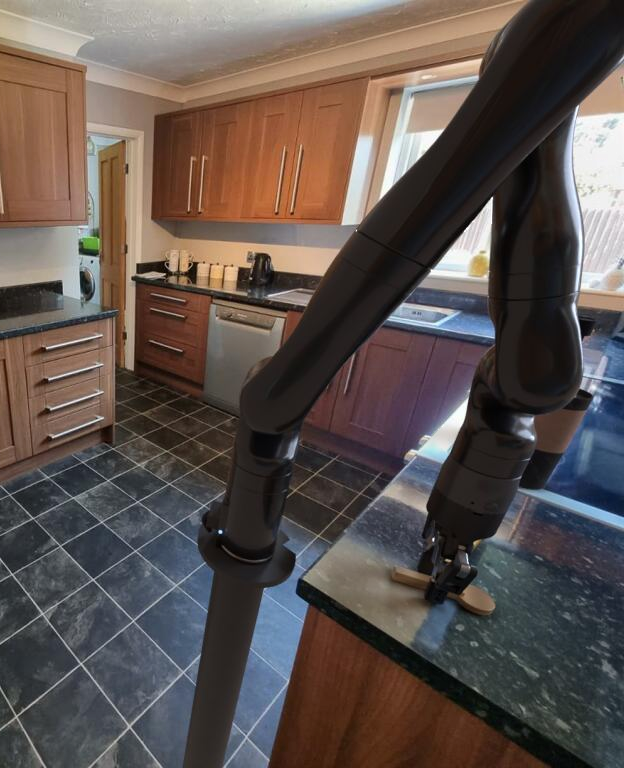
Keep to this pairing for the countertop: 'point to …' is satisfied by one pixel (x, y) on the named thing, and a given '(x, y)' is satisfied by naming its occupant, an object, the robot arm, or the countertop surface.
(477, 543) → the bar
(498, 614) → the countertop surface
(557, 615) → the countertop surface
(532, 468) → the travel mug
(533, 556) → the countertop surface
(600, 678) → the countertop surface
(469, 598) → the spoon
